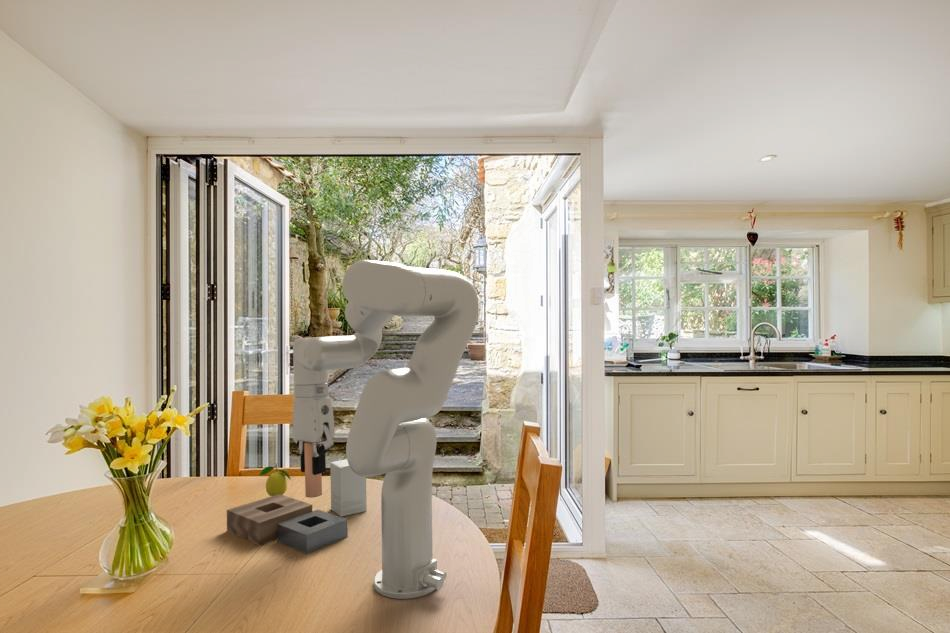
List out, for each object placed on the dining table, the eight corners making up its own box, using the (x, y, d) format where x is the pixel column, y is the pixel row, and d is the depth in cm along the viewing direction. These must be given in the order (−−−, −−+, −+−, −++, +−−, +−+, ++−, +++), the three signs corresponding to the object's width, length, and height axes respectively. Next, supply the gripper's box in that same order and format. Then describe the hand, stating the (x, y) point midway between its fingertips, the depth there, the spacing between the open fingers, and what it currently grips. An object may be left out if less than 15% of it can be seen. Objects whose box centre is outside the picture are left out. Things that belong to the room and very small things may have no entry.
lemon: (259, 499, 149) (259, 464, 149) (277, 493, 154) (277, 459, 154) (273, 504, 145) (273, 467, 145) (292, 498, 150) (291, 462, 150)
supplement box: (367, 511, 139) (366, 462, 139) (339, 517, 135) (339, 467, 135) (356, 503, 145) (356, 457, 145) (330, 509, 141) (329, 461, 141)
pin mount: (347, 536, 122) (347, 519, 122) (306, 553, 114) (306, 535, 114) (318, 526, 129) (317, 509, 129) (277, 541, 120) (277, 523, 120)
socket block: (312, 525, 130) (312, 504, 130) (259, 545, 118) (259, 522, 118) (279, 513, 138) (279, 494, 138) (226, 530, 127) (226, 509, 127)
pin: (325, 494, 121) (324, 441, 122) (312, 498, 118) (310, 444, 119) (315, 491, 123) (314, 439, 124) (302, 495, 121) (301, 442, 121)
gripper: (348, 391, 119) (350, 473, 119) (303, 388, 129) (305, 463, 129) (320, 395, 113) (322, 481, 113) (275, 391, 123) (277, 470, 123)
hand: (313, 471), depth 121 cm, fingers closed on pin, 3 cm apart
